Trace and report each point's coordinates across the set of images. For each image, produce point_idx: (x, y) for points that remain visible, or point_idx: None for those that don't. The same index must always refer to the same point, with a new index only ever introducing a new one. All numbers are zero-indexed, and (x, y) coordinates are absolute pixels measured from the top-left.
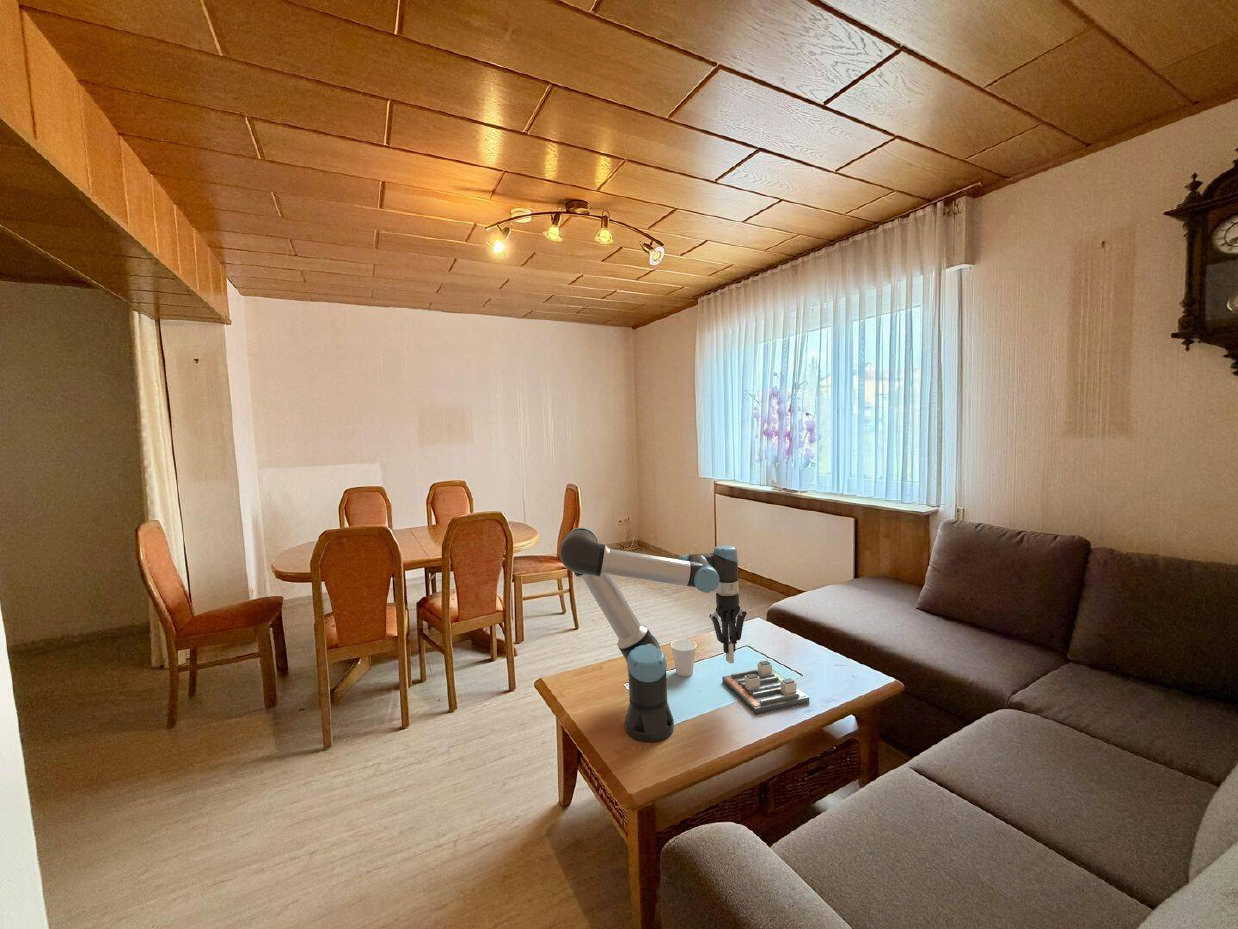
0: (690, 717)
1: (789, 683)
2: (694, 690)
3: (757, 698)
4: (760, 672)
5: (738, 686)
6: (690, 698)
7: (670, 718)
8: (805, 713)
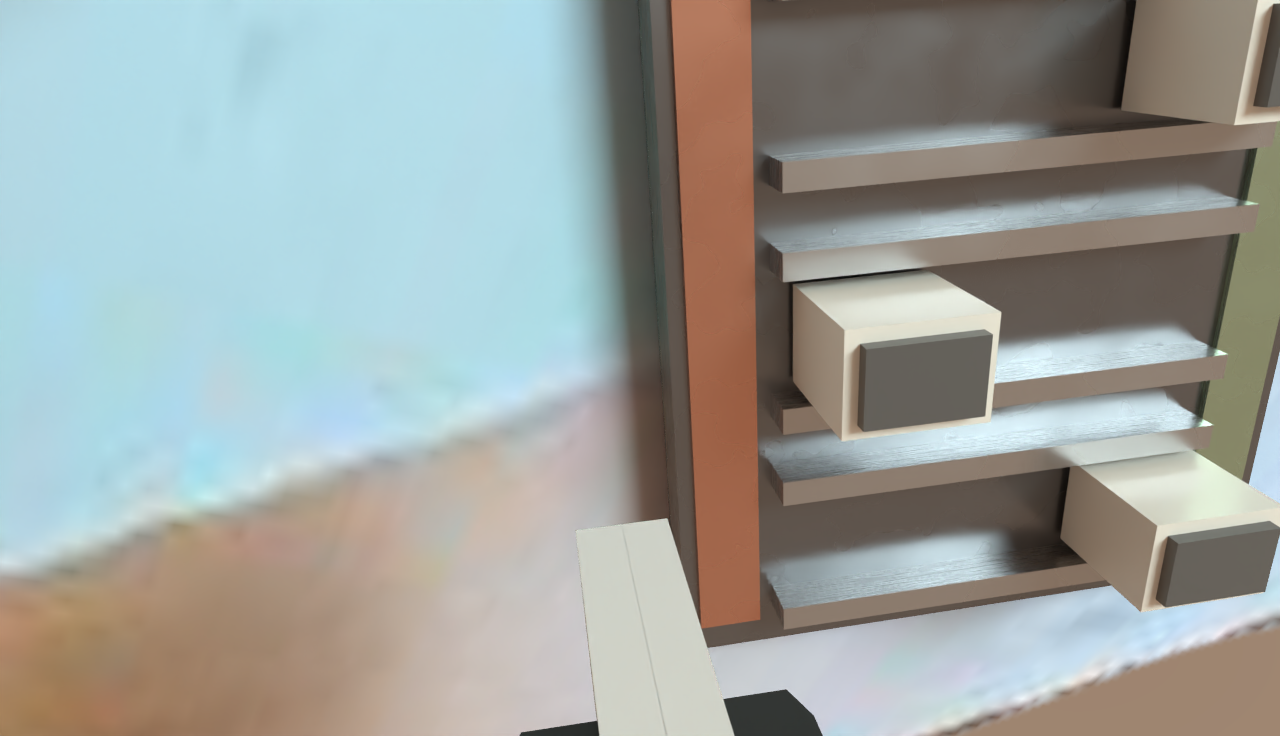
0: (30, 554)
1: (1194, 593)
2: (179, 21)
3: (799, 504)
4: (1158, 66)
5: (730, 247)
6: (86, 205)
7: None
8: (1054, 648)
